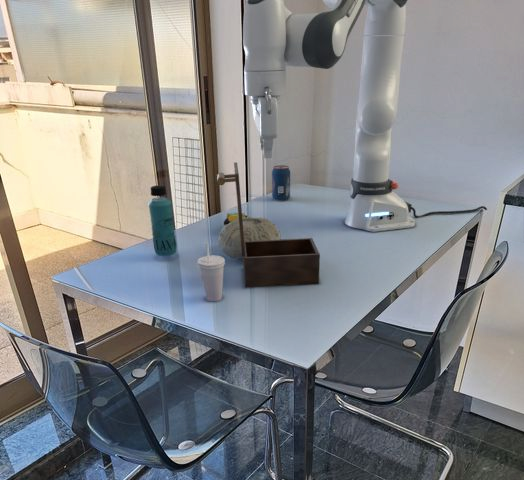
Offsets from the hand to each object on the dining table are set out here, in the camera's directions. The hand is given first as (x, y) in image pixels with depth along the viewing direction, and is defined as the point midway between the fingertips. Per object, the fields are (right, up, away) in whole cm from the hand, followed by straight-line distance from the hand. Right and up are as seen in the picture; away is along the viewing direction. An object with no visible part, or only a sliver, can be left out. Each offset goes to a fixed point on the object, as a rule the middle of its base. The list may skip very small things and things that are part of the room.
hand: (265, 153), depth 115 cm
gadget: (-9, -5, +50) cm, 51 cm away
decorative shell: (-4, -18, +30) cm, 35 cm away
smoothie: (-12, -33, +6) cm, 35 cm away
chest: (+4, -26, +16) cm, 31 cm away
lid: (-6, -11, +6) cm, 14 cm away
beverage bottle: (-28, -18, +30) cm, 45 cm away
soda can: (+6, +13, +80) cm, 81 cm away
